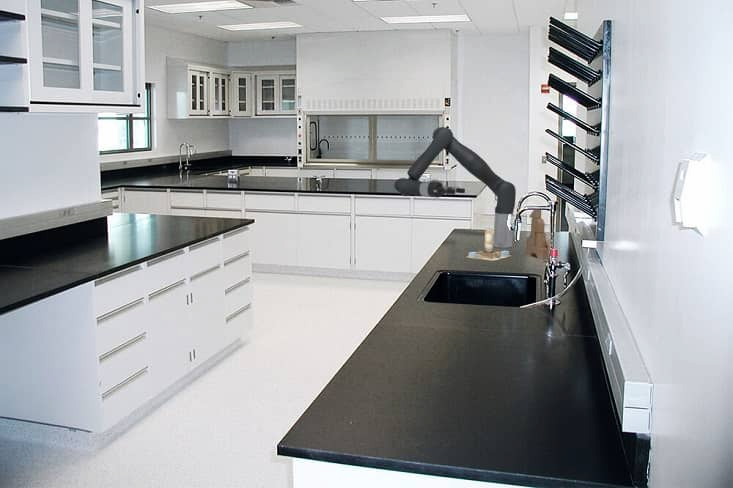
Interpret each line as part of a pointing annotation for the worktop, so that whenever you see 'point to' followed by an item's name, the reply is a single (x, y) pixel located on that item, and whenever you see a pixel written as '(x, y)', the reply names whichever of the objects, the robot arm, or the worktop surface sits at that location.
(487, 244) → the fuselage dowel
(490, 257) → the jig
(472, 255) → the tail piece
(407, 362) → the worktop surface
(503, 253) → the wing piece
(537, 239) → the wooden toy
